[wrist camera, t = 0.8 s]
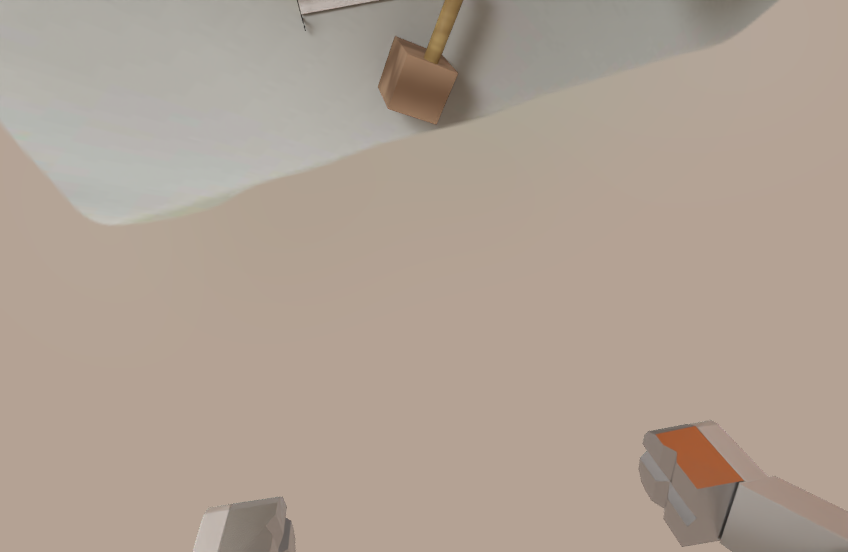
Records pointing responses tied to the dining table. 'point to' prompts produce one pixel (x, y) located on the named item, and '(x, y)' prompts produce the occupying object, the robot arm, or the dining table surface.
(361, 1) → the baseboard molding
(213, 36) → the dining table surface
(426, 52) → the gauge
